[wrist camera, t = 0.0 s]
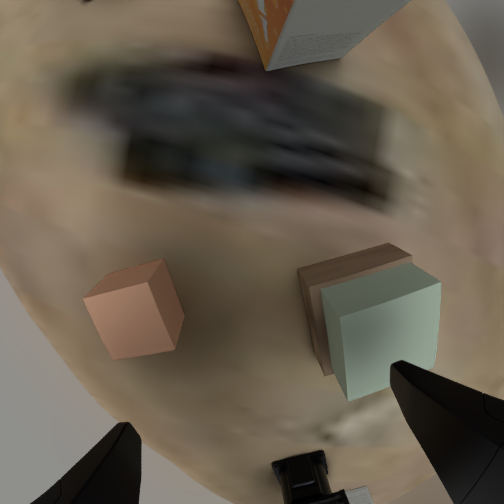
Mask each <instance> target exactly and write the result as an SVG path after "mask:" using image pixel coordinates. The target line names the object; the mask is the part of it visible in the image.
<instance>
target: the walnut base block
mask: <svg viewBox="0 0 504 504" xmlns="http://www.w3.org/2000/svg"><path fill="white" fill-rule="evenodd" d="M408 262H410V263H412V255H410V254H409V253H407V252H405V251H403V250H401V249H399V248H398V247H396V246H394V245H392V244H390V243H386V244H383V245H379V246H376V247H372V248H369V249H366V250H362V251H359V252H355V253H352V254H348V255H345V256H341V257H338V258H334V259H331V260H327V261H324V262H320V263H317V264H313V265H309V266H306V267H302V268H299V269H297V270H298V274H299V279H300V284H301V288H302V293H303V298H304V303H305V308H306V313H307V318H308V323H309V328H310V333H311V339H312V344H313V349H314V352H315V355H316V357H317V359H318V362H319V364H320V366H321V369H322V371H323V373H324V376H327V375H331V374H334V372H333V369H332V365H331V358H330V350H329V343H328V335H327V329H326V322H325V315H324V309H323V302H322V296H321V290H320V289H322V288H326V287H329V286H333V285H336V284H340V283H343V282H347V281H350V280H353V279H357V278H360V277H363V276H367V275H370V274H373V273H376V272H380V271H383V270H386V269H389V268H392V267H396V266H399V265H402V264H405V263H408Z"/></svg>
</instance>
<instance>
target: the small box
mask: <svg viewBox="0 0 504 504" xmlns="http://www.w3.org/2000/svg"><path fill="white" fill-rule="evenodd" d="M410 1H411V0H238V2H239V4H240V6H241V8H242V11H243V13H244V15H245V18H246V20H247V23H248V25H249V27H250V30H251V32H252V35H253V38H254V40H255V43H256V46H257V48H258V51H259V54H260V57H261V60H262V63H263V65H264V69H265V71H271V70H275V69H280V68H284V67H290V66H295V65H300V64H306V63H312V62H318V61H325V60H332V59H340V58H342V57H343V56H344V55H345V54H347V53H348V52H349V51H350V50H351V49H352V48H354V47H355V46H356V45H357V44H358V43H360V42H361V41H362V40H363V39H364V38H365V37H367V36H368V35H369V34H370V33H371V32H372V31H373V30H375V29H376V28H377V27H378V26H379V25H381V24H382V23H383V22H384V21H386V20H387V19H388V18H390V17H391V16H392V15H393V14H395V13H396V12H397V11H398V10H400V9H401V8H402V7H403V6H405V5H406V4H407V3H409V2H410Z"/></svg>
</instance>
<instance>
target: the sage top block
mask: <svg viewBox="0 0 504 504" xmlns="http://www.w3.org/2000/svg"><path fill="white" fill-rule="evenodd" d="M320 290H321V296H322V302H323V309H324V315H325V322H326V329H327V335H328V343H329V350H330V358H331V365H332V369H333V372H334V374H335V376H336V378H337V380H338V382H339V384H340V386H341V388H342V390H343V393H344V395H345V397H346V399H347V401H351V400H354V399H357V398H360V397H363V396H366V395H368V394H371V393H374V392H376V391H379V390H382V389H384V388H387V387H389V386H390V365H391V364H392V363H394V362H396V361H399V360H404V361H407V362H409V363H411V364H414V365H416V366H418V367H421V368H423V369H425V370H428V369H430V368H433V367H434V364H435V357H436V349H437V340H438V330H439V318H440V301H441V281H439V280H438V279H436V278H434V277H433V276H431V275H430V274H428V273H427V272H425V271H423V270H422V269H420V268H418V267H417V266H415V265H414V264H412V263H410V262H408V263H405V264H402V265H399V266H396V267H392V268H389V269H386V270H383V271H380V272H376V273H373V274H370V275H367V276H363V277H360V278H357V279H353V280H350V281H347V282H343V283H340V284H336V285H333V286H329V287H326V288H322V289H320Z"/></svg>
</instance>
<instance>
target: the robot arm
mask: <svg viewBox="0 0 504 504" xmlns="http://www.w3.org/2000/svg"><path fill="white" fill-rule="evenodd" d="M390 386H391V388H392V391H393V393H394V395H395V397H396V399H397V402H398V404H399V406H400V408H401V411H402V413H403V415H404V417H405V419H406V422H407V423H408V425H409V427H410V428H411V430H412V432H413V433H414V435H415V437H416V438H417V440H418V442H419V443H420V445H421V447H422V449H423V450H424V452H425V454H426V455H427V457H428V459H429V461H430V462H431V464H432V466H433V467H434V469H435V471H436V473H437V474H438V476H439V478H440V480H441V481H442V483H443V485H444V487H445V488H446V490H447V492H448V494H449V496H450V498H451V499H452V501H453V503H454V504H504V400H502V399H499V398H496V397H493V396H490V395H488V394H485V393H483V394H482V392H480V391H477V390H475V389H472V388H470V387H467V386H465V385H462V384H460V383H457V382H455V381H452V380H450V379H447V378H445V377H442V376H440V375H437V374H435V373H433V372H430V371H428V370H425V369H423V368H421V367H418V366H416V365H414V364H411V363H409V362H407V361H404V360H399V361H396V362H394V363H392V364H391V365H390ZM141 444H142V442H141V438H140V436H139V434H138V433H137V431H136V430H135V429H134V427H133V426H132V425H131V423H129V422H119V423H118V424H116V426H114V427H113V428H112V429H111V430H110V431H109V432H108V433H107V434H106V435H105V436H104V437H103V438H102V439H101V440H100V441H99V442H98V443H97V444H96V445H95V446H94V447H93V448H92V449H91V450H90V451H89V452H88V453H87V454H86V455H85V456H84V457H83V458H82V459H80V460H79V461H78V462H77V463H76V464H75V465H74V466H73V467H72V468H71V469H70V470H69V471H68V472H67V473H66V474H65V475H64V476H63V477H62V478H61V479H59V480H58V481H57V482H56V483H55V484H54V485H53V486H52V487H51V488H49V489H48V490H47V491H46V492H45V493H44V494H42V495H41V496H40V497H38V498H37V499H36V500H34V501H33V502H32V503H30V504H139V494H140V484H141ZM272 468H273V470H274V472H275V475H276V477H277V479H278V481H279V483H280V485H281V488H282V494H283V500H284V504H350V503H349V501H348V498H347V496H346V493H345V491H344V489H343V490H339V491H338V492H335V493H332V492H331V489H330V485H329V482H328V479H327V474H328V471H327V464H326V458H325V453H324V451H318V452H315V453H311V454H307V455H303V456H299V457H295V458H291V459H287V460H282V461H278V462H274V463H272Z"/></svg>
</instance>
